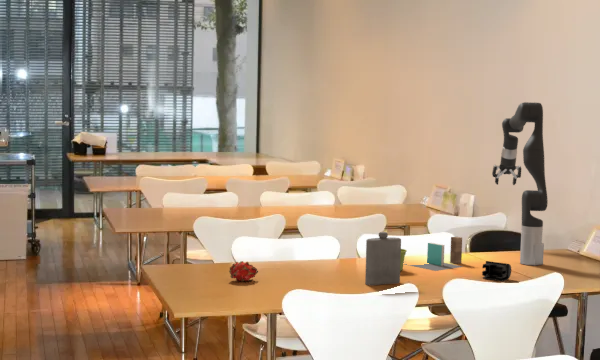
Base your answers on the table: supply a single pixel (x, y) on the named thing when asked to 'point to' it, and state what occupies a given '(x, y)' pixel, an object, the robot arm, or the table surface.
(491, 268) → the end cap
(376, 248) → the flask
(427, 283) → the table surface
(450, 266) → the mat
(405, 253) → the plant pot
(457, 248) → the walnut stick
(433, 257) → the tile
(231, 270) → the dragon fruit
